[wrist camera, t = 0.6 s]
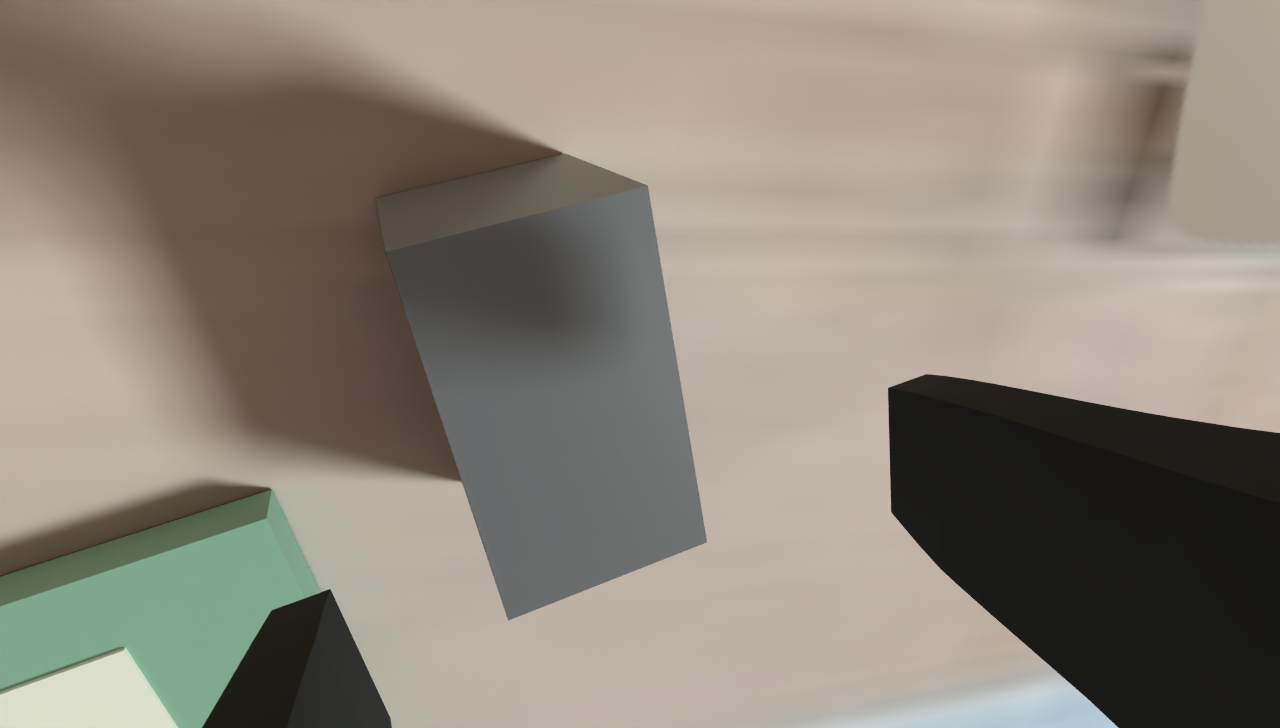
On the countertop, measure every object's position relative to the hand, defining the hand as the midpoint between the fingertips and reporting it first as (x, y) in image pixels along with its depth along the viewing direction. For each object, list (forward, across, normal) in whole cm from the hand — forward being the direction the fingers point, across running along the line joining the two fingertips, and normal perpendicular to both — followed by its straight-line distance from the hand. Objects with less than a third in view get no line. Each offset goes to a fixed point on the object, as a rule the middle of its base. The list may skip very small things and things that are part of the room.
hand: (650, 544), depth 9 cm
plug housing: (+9, 0, 0) cm, 9 cm away
